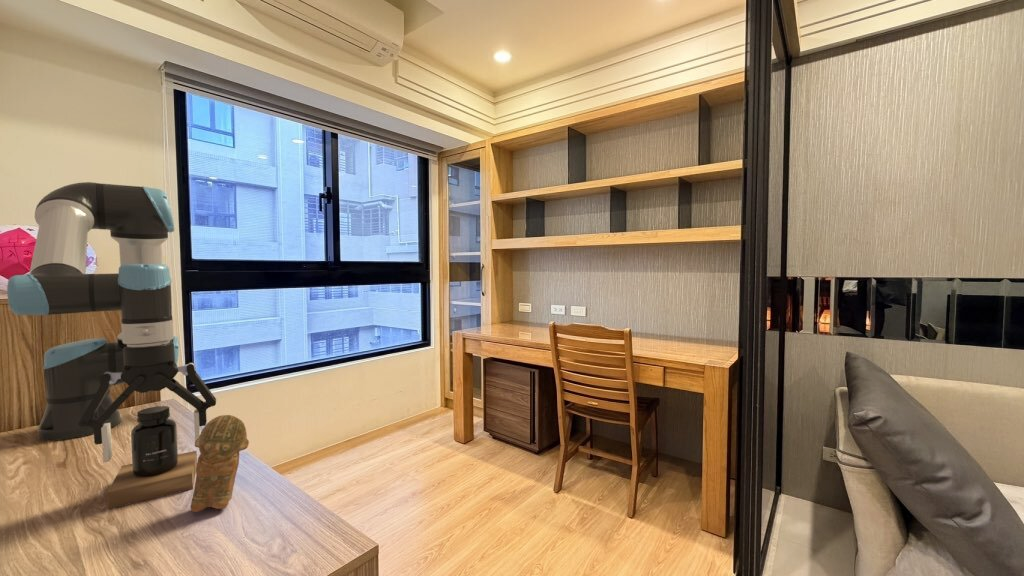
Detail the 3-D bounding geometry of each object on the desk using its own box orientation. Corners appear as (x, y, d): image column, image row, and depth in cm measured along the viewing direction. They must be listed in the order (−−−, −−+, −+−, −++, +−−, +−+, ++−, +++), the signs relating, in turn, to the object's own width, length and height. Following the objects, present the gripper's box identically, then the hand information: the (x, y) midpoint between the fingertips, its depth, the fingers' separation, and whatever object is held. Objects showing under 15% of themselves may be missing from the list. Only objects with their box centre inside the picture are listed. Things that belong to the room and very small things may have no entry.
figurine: (189, 521, 71) (184, 434, 70) (199, 497, 78) (195, 418, 77) (248, 507, 75) (244, 424, 74) (252, 486, 82) (249, 410, 81)
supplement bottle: (152, 479, 79) (148, 417, 78) (123, 476, 80) (119, 414, 79) (187, 462, 85) (184, 404, 85) (160, 459, 87) (156, 402, 86)
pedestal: (122, 480, 85) (122, 465, 84) (197, 464, 91) (196, 450, 91) (108, 509, 75) (107, 492, 74) (192, 488, 81) (191, 473, 81)
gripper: (49, 354, 71) (57, 476, 73) (226, 339, 85) (231, 441, 86) (63, 347, 78) (71, 459, 79) (227, 334, 91) (231, 429, 93)
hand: (155, 450), depth 83 cm, fingers open, 13 cm apart
